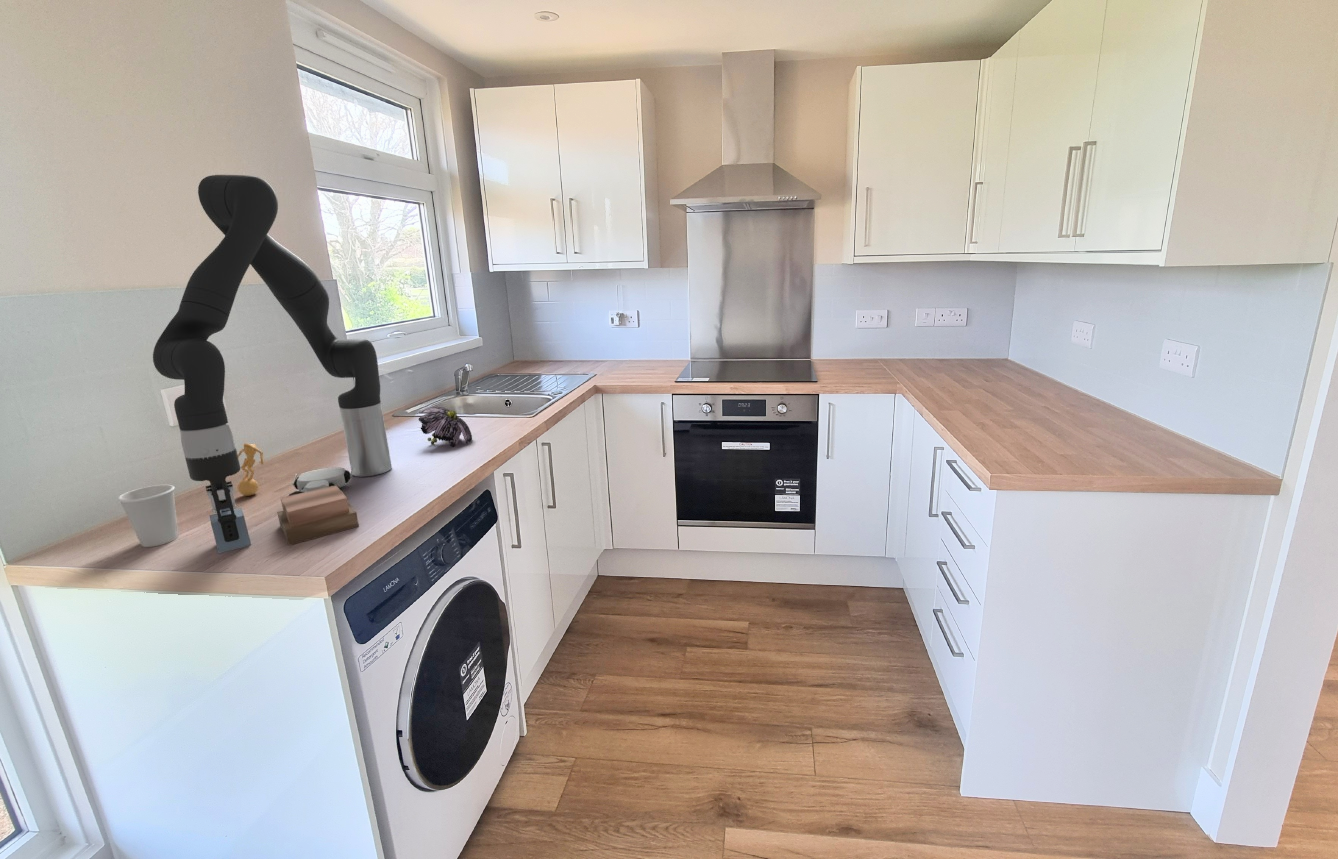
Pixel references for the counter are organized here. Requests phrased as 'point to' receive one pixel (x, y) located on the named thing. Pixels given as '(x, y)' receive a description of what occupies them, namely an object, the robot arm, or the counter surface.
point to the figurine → (249, 484)
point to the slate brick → (241, 527)
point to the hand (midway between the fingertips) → (230, 533)
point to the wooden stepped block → (316, 514)
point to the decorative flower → (444, 426)
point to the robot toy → (321, 479)
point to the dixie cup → (152, 514)
